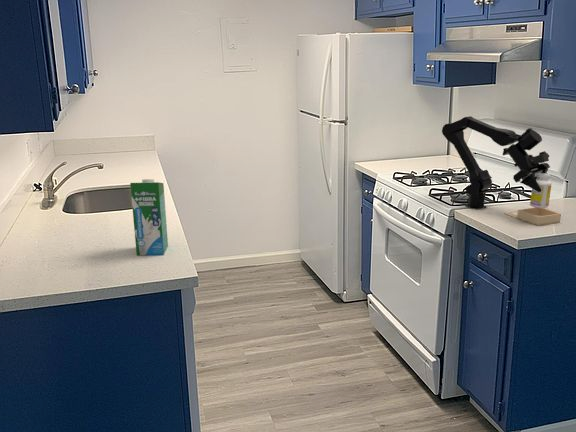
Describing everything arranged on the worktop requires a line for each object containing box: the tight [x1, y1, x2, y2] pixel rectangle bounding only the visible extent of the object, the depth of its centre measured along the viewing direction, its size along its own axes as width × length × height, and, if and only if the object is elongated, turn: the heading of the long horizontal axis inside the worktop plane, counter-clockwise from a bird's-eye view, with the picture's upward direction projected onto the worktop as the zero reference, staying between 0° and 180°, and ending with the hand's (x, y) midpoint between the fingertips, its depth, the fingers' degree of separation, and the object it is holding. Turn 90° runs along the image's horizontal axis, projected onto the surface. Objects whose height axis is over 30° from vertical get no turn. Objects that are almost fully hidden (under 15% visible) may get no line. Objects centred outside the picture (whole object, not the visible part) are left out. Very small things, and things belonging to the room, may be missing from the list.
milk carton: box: [129, 178, 169, 256], centre depth 196 cm, size 9×9×25 cm
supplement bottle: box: [529, 173, 552, 209], centre depth 225 cm, size 7×7×13 cm
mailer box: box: [503, 207, 562, 227], centre depth 231 cm, size 18×11×4 cm, turn 22°
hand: (544, 190), depth 224 cm, fingers closed on supplement bottle, 7 cm apart
